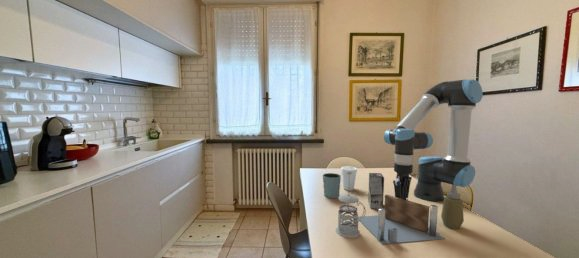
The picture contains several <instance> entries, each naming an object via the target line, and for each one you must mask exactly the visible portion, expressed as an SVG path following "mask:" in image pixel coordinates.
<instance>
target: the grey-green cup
mask: <svg viewBox="0 0 579 258" xmlns="http://www.w3.org/2000/svg"><path fill="white" fill-rule="evenodd" d="M341 179H342V174H338V173H334V172H328V173H324V174H322V182H323V196H324V197H325V198H327V199H338V198H339V196H340V189H341Z"/></svg>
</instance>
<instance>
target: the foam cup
mask: <svg viewBox="0 0 579 258" xmlns="http://www.w3.org/2000/svg"><path fill="white" fill-rule="evenodd" d="M340 169H341V172H340V173H341V179H342V187H343V190H345V191H353V190H354V189H355V185H356V183H355V182H356V178H357V173H358V169H357V167H355V166H348V165H346V166H341V168H340ZM347 171H351V173H352V174H347Z"/></svg>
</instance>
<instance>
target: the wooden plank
mask: <svg viewBox="0 0 579 258" xmlns="http://www.w3.org/2000/svg"><path fill="white" fill-rule="evenodd" d="M384 209H385V218H388V219H391V220H394V221H396V222H399V223H402V224H405V225H407V226H410V227H413V228H416V229H419V230H421V231H424V232H428V227H429V223H430V206H429V205H427V204H426V205H425V204H422V203H418V202H416V201H411V200H409V199H408V200H405V199H401V198H398V197H395V195H391V194H385V195H384Z"/></svg>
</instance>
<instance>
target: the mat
mask: <svg viewBox="0 0 579 258" xmlns="http://www.w3.org/2000/svg"><path fill="white" fill-rule="evenodd" d="M361 216H362V215H361ZM361 216H358V218H359V219H358V220H360V219H362V218H363V217H364V218H363V219H362V220H360V221H359V222H360V223H361V224H362V225H363V226H364V227H365V229H366V230H368V231H369V233H370V234H371V235H372V236H374V237H375V239H377V237H378V215H376V214H375V215H365V216H364V215H363V216H362V217H361ZM360 217H361V218H360ZM391 228H396V229H397V242H390V243H389V242H388V229H391ZM429 228H430V226H428V232H424V231H421V230H419V229H416V228H413V227H410V226H407V225H405V224H402V223H399V222H396V221H394V220H391V219H388V218H385V232H384V241H379V243H380V244H381V245H391V244H393V245H394V244H403V243H404V244H405V243H416V242H417V243H418V242H427V241H438V240H446V237H445V236H443V235H441V234H439V233H438V232H437V231H436V236H435V237H434V236H430V235H429Z"/></svg>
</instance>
